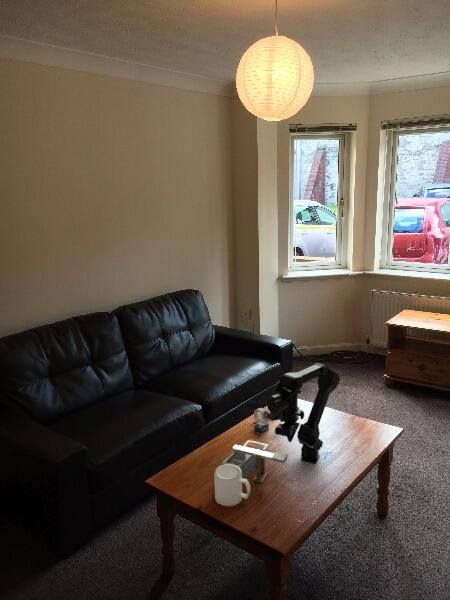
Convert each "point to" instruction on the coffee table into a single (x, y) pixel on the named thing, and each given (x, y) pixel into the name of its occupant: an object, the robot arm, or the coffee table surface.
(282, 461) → the lever
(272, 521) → the coffee table surface
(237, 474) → the mug
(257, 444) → the cream square tray
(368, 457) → the coffee table surface
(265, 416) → the watch
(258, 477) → the lever stand
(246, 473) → the chute
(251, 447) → the ball
